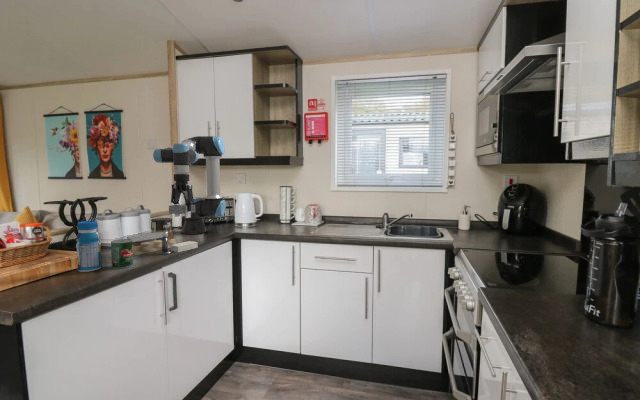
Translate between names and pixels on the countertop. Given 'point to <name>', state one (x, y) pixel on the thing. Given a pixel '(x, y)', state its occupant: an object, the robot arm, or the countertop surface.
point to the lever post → (164, 247)
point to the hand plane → (151, 245)
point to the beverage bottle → (88, 246)
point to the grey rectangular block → (180, 209)
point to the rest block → (184, 246)
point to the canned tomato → (121, 253)
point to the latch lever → (148, 236)
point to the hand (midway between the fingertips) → (182, 217)
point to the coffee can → (160, 226)
